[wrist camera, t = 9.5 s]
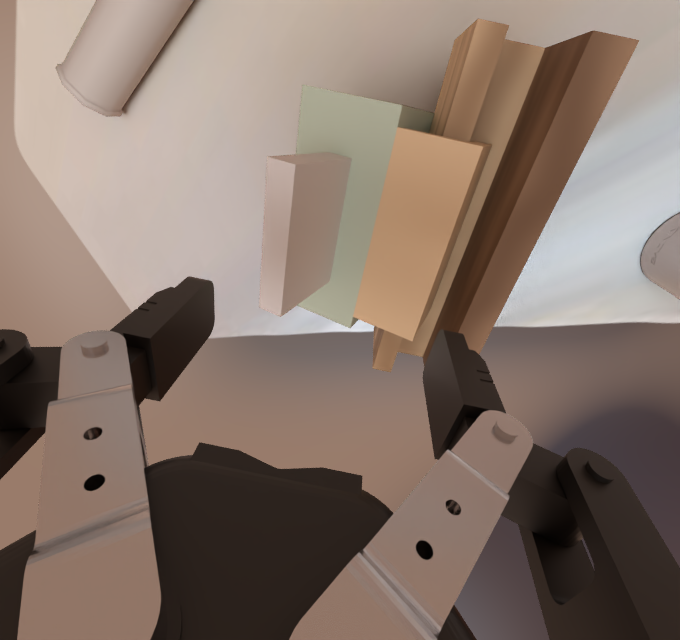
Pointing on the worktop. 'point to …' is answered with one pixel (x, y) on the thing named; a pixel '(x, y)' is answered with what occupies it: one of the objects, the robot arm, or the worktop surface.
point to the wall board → (509, 164)
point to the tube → (117, 50)
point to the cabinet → (364, 212)
